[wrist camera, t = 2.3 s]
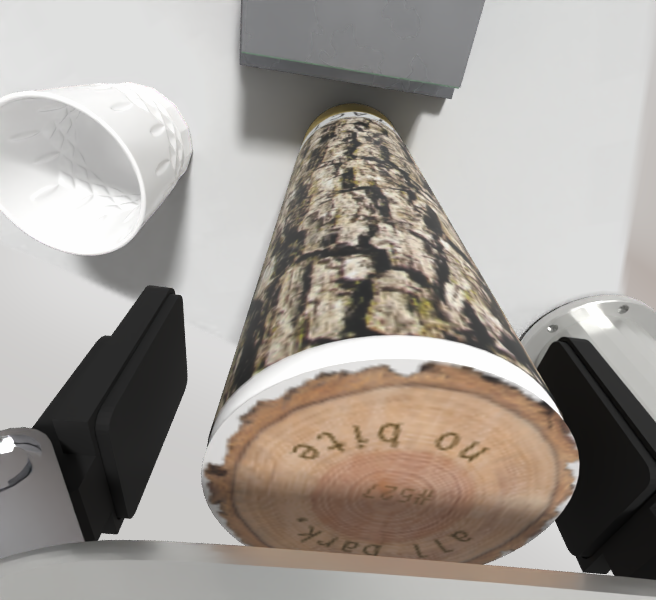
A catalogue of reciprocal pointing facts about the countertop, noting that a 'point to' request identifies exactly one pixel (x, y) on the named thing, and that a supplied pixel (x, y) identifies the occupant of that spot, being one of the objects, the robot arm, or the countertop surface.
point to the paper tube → (380, 376)
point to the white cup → (89, 162)
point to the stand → (364, 41)
